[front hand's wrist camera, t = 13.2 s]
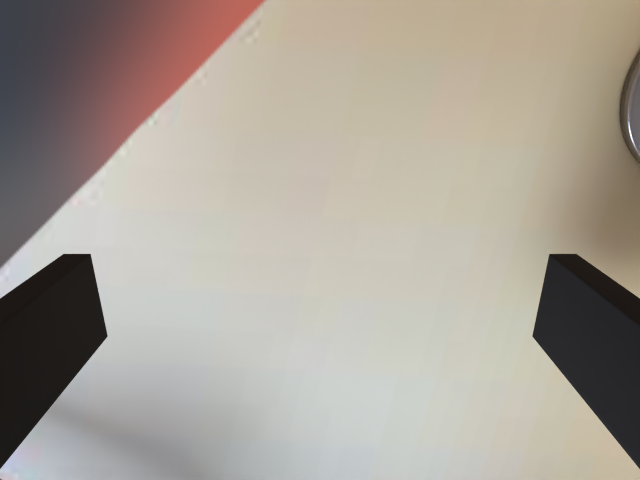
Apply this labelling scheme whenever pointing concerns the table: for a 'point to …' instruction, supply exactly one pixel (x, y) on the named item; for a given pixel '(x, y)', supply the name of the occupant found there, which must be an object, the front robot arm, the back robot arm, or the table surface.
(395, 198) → the table surface
